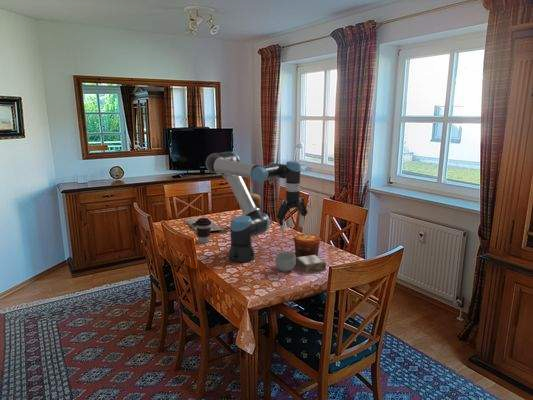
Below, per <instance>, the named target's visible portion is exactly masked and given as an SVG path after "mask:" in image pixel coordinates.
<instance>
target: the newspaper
mask: <svg viewBox="0 0 533 400" xmlns="http://www.w3.org/2000/svg"><path fill="white" fill-rule="evenodd" d="M199 218H208V217H201V216H200V217H194V218H188V219H186V220H185V222H186V223H187V224H188V225H189V227H191V228H192V229H193V230H195V232H197V225H196V223H195V222H196V221H198V219H199ZM208 219H209V220H211V219H210V217H209V218H208ZM210 226H211V232H212V231H219V232H220V233H224V232H225V229H224V228H222V227H221V226H219V225H218V224H217V223H216V222H214V221H213V220H211V224H210Z"/></svg>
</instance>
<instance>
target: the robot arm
mask: <svg viewBox="0 0 533 400" xmlns="http://www.w3.org/2000/svg"><path fill="white" fill-rule="evenodd" d="M205 168H206V169H207V170H208V172H210V173H212V174H218V175H222V177H223V178H225V179H226V180H227V182H228V185H229V187H230V188H231V191H232V193H233V194H234V197H235V199H236V201H237V202H238V205H239V207H240V210H241V211H242V215H237V216H235V217H233V218H232V219H231V220H230V227H229V229H230V247H229V251H228V253H227V259H228V260H229V261H231V262H234V263H240V264H242V263H248V262H252V261H253V260H255V258H256V254H255V250H254V247H253V245H252V239H253V238H254V237H256V236H259V235H262V234H264V233H265V232H267V231H268V230H269V228H270V225H271V219H270V217H269V216H268V214H266V213H265V212H262V210H261V209H260V208H257V207H256V205H255V203H254V201H253V199H252V197H251V195H250V194H251V193H250V191H249V188H248V187H247V185H246V183H245V181H244V179H243V178H246V179H252V180H254V181H255V182H258V183H259V182H265V181H269V180H274V179H285V190H286V191H285V199H286V200H281V201H280V206H279V208H278V211H277V214H276V216H275V218H276V219H278V221H279V222H278V223H279V231H281V232H283V233H284V232H285V217H286V215H287V214H288V212H289V210H291V209H293V208H295V209H297V212H298V213H300V214H299V224H298V225H299V227H300V228H304V226H305V225H304V223H305V217H306V216H307V215H308V213H309V211H308V210H307V207H306V206H307V205H306V204H305V199H304V198H303V197H301V172H302V170H301V162H300V161H296V160H290V161H289V160H288V161H287V162H286V164H284V163H283V164H282V163H276V162H274V163H271V162H270V163H268V164H267V165H259V164H253V163H249V162H244V161H243V162H241V158H240V156H239V155H238V153H236V152H233V151H224V152H223V151H222V152H214V153H211V154H209V155H208V156H207V157H206V160H205Z"/></svg>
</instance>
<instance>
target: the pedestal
mask: <svg viewBox="0 0 533 400" xmlns="http://www.w3.org/2000/svg"><path fill="white" fill-rule="evenodd" d="M295 266H297V268H299V269H300V270H301V272H303V273H305V274H307V273H315V272H321V271H326V270H327V262H326V261H325V260H323V259H322V258H321V257H319V256H316V255H310V256H303V257H297V256H296V264H295Z"/></svg>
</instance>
